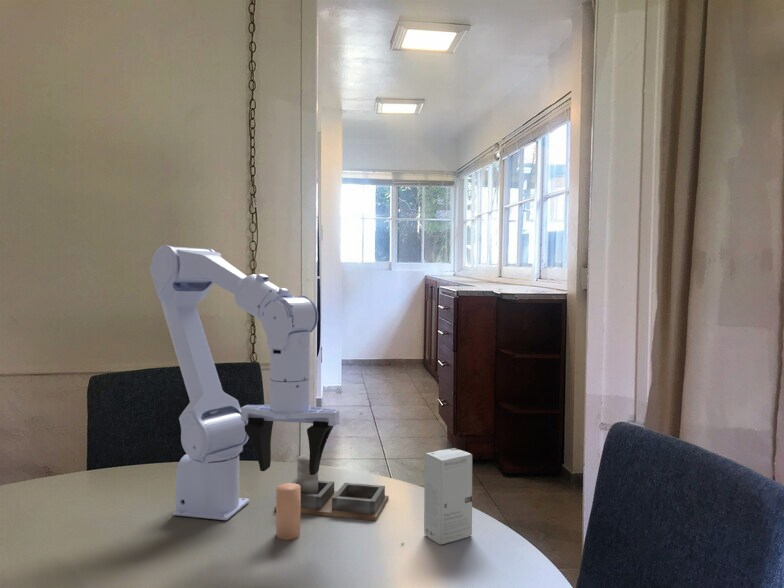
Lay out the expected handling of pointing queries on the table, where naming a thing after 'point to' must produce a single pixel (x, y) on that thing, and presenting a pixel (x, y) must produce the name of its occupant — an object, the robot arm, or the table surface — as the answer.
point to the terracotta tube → (288, 511)
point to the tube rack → (337, 496)
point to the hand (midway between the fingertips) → (289, 470)
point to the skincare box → (448, 495)
